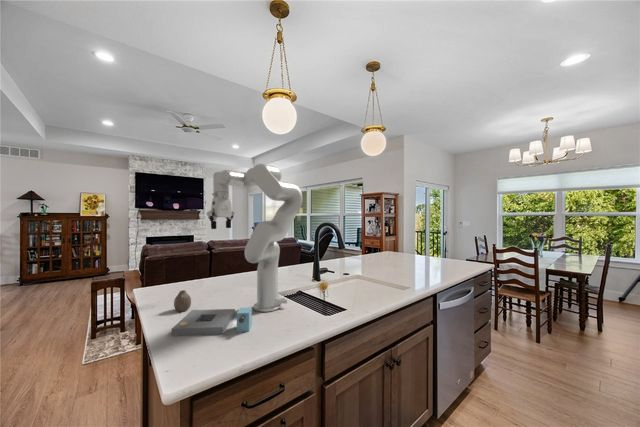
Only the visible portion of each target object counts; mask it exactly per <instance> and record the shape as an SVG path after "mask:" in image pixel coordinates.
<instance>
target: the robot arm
mask: <svg viewBox="0 0 640 427" xmlns="http://www.w3.org/2000/svg"><path fill="white" fill-rule="evenodd" d="M212 179H213V181H212V183H213V184H212V185H213V189H212V190H213V192H212V194H211V195H212V197H213V198H212V200H211V207H210V210H208V211H206V216H207V218H208V219H209V222H210V229H211V230H216V229H217V219H218V218H225V219H226V220H225V228H226V229H231V228H232V221H233V218H234V216H235V212H234V211H233V210H232V202H231V199H230V198H229V197H230V193H229V192H230V191H229V189H230V187H231V186H232V187H233V186H234V187H241V188H243V187H254V186H257V187H258V188H259V189H260V190H261V191H262V192H263V193H264V195H265V196H266V197H267V198H269V199H270V200H272V201H275V202H276V201H280V202H283V203H282V204H281V205H280V206H279V207H278V209H277V210H276V212H275V213H274V214H275V215H274V216H273V217H272V219H271V220H264V221H260V222H259V223H258V224H257V225H256V226H255V228H253V231H252V232H251V235H250V237H249V239H248V241H247V243H246V245H245V248H244V258H245V260H246V261H247V262H248V263H251V264H258V265H257V268H256V303H254V304H253V309H254V311H257V312H261V313H264V312H265V313H266V312H267V313H268V312H269V313H270V312H273V311H278V310H279V309H281V307H282V304H285V305H286V304H288V299H286V298H285V297H284V298H282V297H280V295H279V294H278V293H279V292H278V289H279V288H278V286H279V285H278V284H279V282H278V279H279V278H278V273H279V271H278V270H279V260H280V253H281V247H280V246H279V243H278V242H281V241H282V240H284V238H285V237H286V235H287V233H288V232H289V230H290V228H291V226H292V224H293V222H294V220H295V218H296V217H297V215H298V213H299V211H300V210H301V208H302V205H303V193H302V190H301V189H300V187H299V186H298V185H296V184H294V183H292V182H288V181H281V179H282V173H281V170H280V169H279V168H278V167H276V166H273V165H269V164H265V163H257V164H256V165H255V166H253V167H250V168H248V170H247V171H246V172H240V171H236V170H232V169H231V170H229V169H225V170H221V171H214V173H213V178H212ZM229 186H230V187H229Z"/></svg>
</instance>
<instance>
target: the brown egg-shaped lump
mask: <svg viewBox="0 0 640 427" xmlns="http://www.w3.org/2000/svg"><path fill="white" fill-rule="evenodd" d="M191 304H192V298H191V296H190V295H189V294H188V293H187V291H186V290H185V289H184V290H183V289H182V290H180V291H179V293H178V294H177V295H176V296H175V298H174V301H173V307H174V310H175V311H177V312H178V313H183V312H186V311H188V310H189V309H190V307H191Z"/></svg>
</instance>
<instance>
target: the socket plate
mask: <svg viewBox="0 0 640 427" xmlns="http://www.w3.org/2000/svg"><path fill="white" fill-rule="evenodd" d="M235 314H236V309H235V308H224V309H221V308H220V309H219V308H218V309H216V308H214V309H192V310H191V311H189V312H188V313H187V314H186V315H184V317H183V318H182V319H181V320H179V321H178V322H177V323H176V324H175V325H174V326H173V327H171V336H172V335H173V336H198V335H199V334H203V335H223V334H224V332H225V331H226V329H227V327H228V326H229V325H230V323H231V322H232V320H233V318H234V317H235ZM197 334H198V335H197ZM199 336H200V335H199Z"/></svg>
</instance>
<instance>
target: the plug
mask: <svg viewBox="0 0 640 427" xmlns="http://www.w3.org/2000/svg"><path fill="white" fill-rule="evenodd" d="M252 315H253V308H252V307H239V309H238V311H237V312H236V333H243V332H245V333H247V332H250V331H251V328H252V325H253V324H252V323H253V321H252V320H253V316H252Z"/></svg>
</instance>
